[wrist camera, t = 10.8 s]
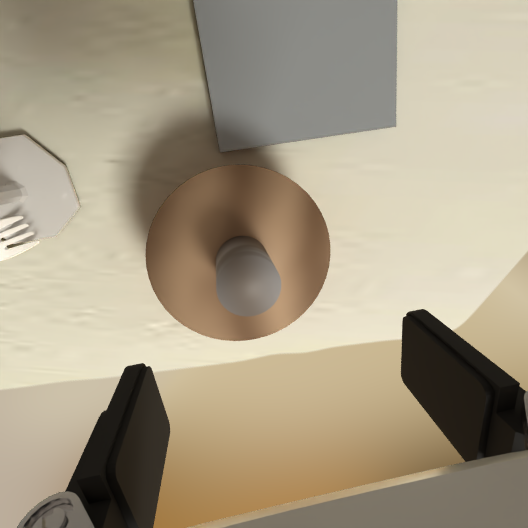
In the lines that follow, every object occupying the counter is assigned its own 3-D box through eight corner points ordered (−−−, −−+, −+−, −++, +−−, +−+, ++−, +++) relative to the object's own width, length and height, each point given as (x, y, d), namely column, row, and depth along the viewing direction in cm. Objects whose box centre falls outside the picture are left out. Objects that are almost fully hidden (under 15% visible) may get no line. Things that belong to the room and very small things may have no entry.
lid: (318, 150, 23) (353, 149, 17) (331, 316, 28) (361, 356, 22) (124, 181, 21) (93, 190, 16) (173, 349, 26) (163, 401, 21)
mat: (391, -102, 23) (398, -113, 22) (390, 127, 29) (395, 126, 28) (177, -88, 22) (175, -98, 21) (219, 152, 27) (220, 152, 26)
